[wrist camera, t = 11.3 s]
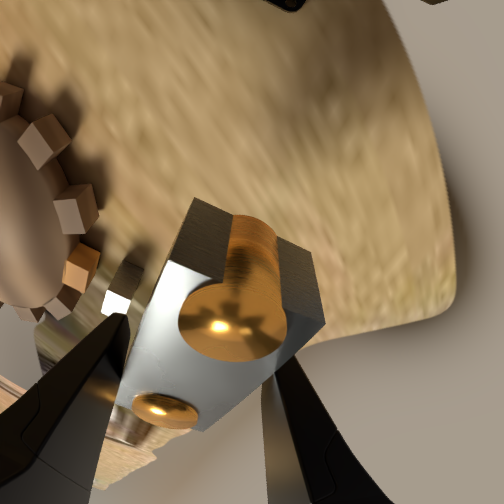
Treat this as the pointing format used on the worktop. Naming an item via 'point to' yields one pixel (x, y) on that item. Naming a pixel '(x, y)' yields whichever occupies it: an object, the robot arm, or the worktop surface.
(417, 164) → the worktop surface
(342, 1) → the worktop surface
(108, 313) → the index post
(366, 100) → the worktop surface
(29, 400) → the robot arm
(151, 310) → the chain link
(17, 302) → the sprocket wheel
